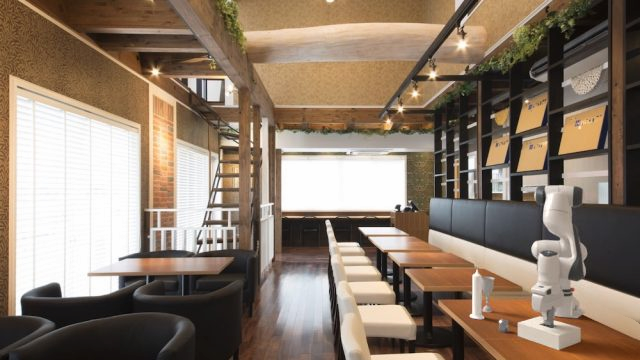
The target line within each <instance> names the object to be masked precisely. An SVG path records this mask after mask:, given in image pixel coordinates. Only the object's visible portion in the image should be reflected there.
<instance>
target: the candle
mask: <svg viewBox="0 0 640 360" xmlns="http://www.w3.org/2000/svg"><path fill="white" fill-rule="evenodd" d="M482 277H483V276H482V275H481V274H480V273H479V270H478V268H476V271H475V273H473V274H472V280H471V281H472V283H471V284H472V288H471V289H472V292H471V293H472V294H471V295H472V298H471V299H472V300H471V302H472V305H471V307H472V309H471V310H472V311H471V313H470V314H469V317H470V318H471V319H474V320H484V319H485V316H484V315H483V314H482V313H483V311H482V310H483V299H482V298H483V297H482V296H483V294H482V293H483V290H482Z"/></svg>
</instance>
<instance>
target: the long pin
mask: <svg viewBox="0 0 640 360" xmlns="http://www.w3.org/2000/svg"><path fill="white" fill-rule="evenodd" d="M547 316H548V320H544V326H546V327H549V328H554V320H555V317H554V306H553V307H552V309H550V310H547Z"/></svg>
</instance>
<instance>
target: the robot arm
mask: <svg viewBox="0 0 640 360" xmlns="http://www.w3.org/2000/svg"><path fill="white" fill-rule="evenodd" d="M534 200H535V202H536V204H537V205H539V206H543V214H542V221H543V225H544V226H545V227H546V228H547V230H548V232H549V233H551V234H553V235H554V236H556V237H558V238H559V240H550V239H542V240H541V239H540V240H534V242H533V244H532V246H531V248H530V249H531V254H532V256H533V257H534V258H535V259H536V271H537V274H538V277H537V282H536V283H535V284H534V285H533V286H532V287H531V288H530V291H531V293H532V295H531V307H532V310H533V311H534V312H538V313H541V315H542V316H541V317H542V319H543V320H548V316H547V310H550V309H552V307H553V306H554V318H555V317H559V318H572V319H579V318H580V317H581V316H583V315H584V314H585V310H583V309H580V301H579V300H578V299H577V298H576V297H575V296H574V295H573V293H574V292H575V291H576V289H575V287H572V286H571V284H572V282H571V281H573V282H580V281H582V280H583V279H584V278H585V276H586V274H587V271H586V270H587V268H586V266H585V263H584V261H585V259H586V258H587V256H588V251H587V247H586V246H585V245H584V244H583V243H582V242H581V240H580V235H579V230H578V227H577V225H575V224H573V222H572V221H573V217H572V216H573V211H572V208H573V209H575V208H579V207H581V206H582V205H583V204H584V202H585V200H586V194H585V192H584V189H583V188H582V187H580V186H576V185H574V186H573V185H571V186H570V185H564V184H562V185H561V184H559V185H544V184H543V185H538V186H537V187H536V189H535V191H534Z"/></svg>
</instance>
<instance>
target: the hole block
mask: <svg viewBox="0 0 640 360" xmlns="http://www.w3.org/2000/svg"><path fill="white" fill-rule="evenodd" d="M581 333H582V332H581V327H579V326H576V325H572V324H568V323H565V322H562V321H557V320H555V319H554V328H549V327H546V326H544V320H543V319H542V316H540V315H539V316H536V317H533V318H529V319H526V320H522V321H519V322H517V337H519V338H522V339H526V340H528V341H531V342H534V343H537V344H540V345H543V346H545V347H549V348H551V349H554V350H557V351H560V350H563V349H565V348H567V347H570V346H573V345H576V344H578V343H581V338H582V337H581V336H582V335H581Z"/></svg>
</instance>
